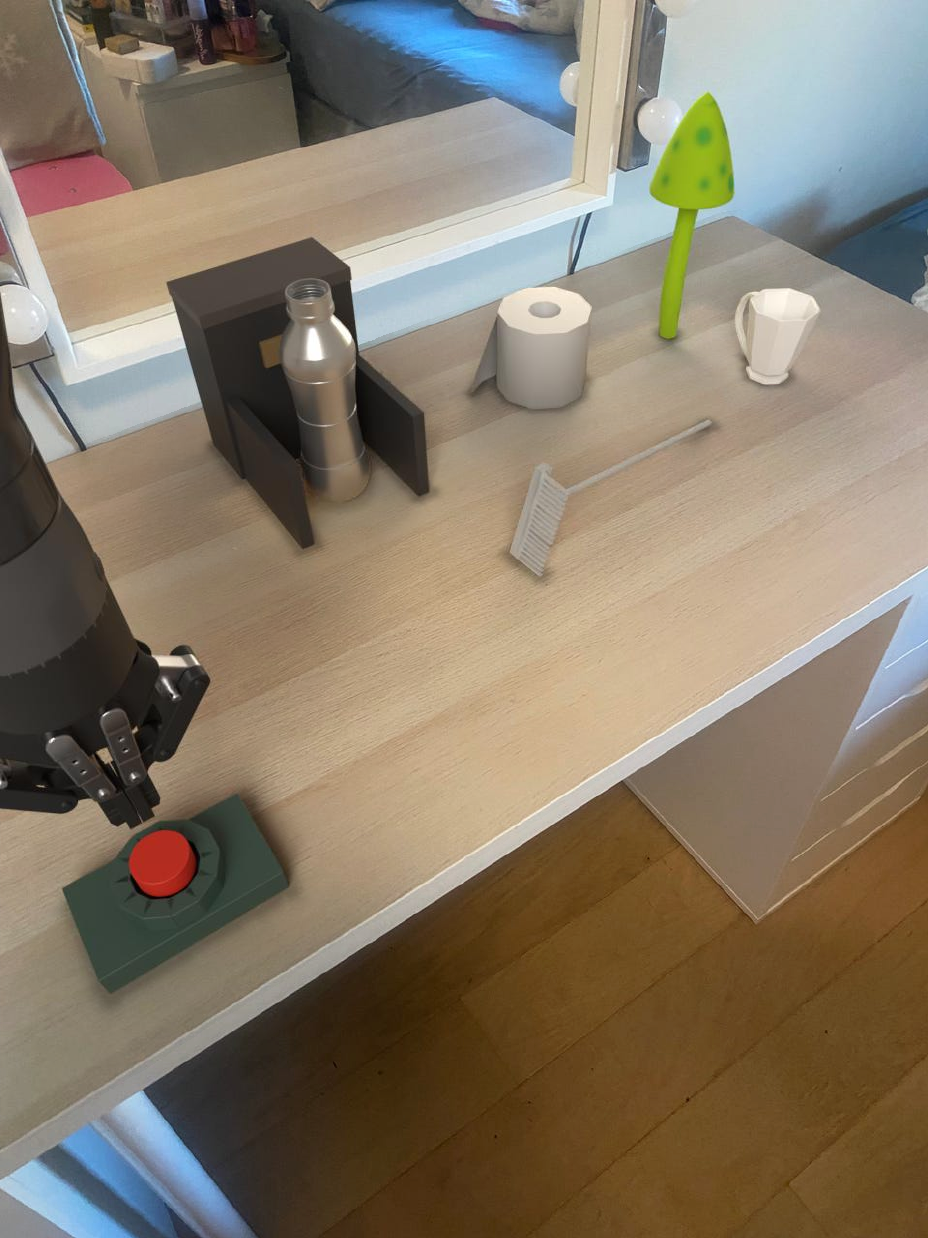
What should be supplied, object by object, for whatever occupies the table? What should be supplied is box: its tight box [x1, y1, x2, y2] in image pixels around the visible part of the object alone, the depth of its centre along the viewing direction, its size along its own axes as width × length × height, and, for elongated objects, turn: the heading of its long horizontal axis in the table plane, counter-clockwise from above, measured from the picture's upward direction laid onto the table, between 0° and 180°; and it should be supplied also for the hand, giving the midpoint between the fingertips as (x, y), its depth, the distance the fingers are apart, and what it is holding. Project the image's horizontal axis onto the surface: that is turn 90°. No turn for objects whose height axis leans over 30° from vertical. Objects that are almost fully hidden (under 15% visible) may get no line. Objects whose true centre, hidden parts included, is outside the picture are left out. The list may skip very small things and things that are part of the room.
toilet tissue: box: [470, 286, 593, 410], centre depth 92 cm, size 9×13×9 cm
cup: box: [734, 287, 822, 386], centre depth 94 cm, size 7×10×8 cm
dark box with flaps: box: [165, 236, 430, 550], centre depth 81 cm, size 19×14×17 cm
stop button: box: [129, 830, 196, 897], centre depth 54 cm, size 4×4×2 cm
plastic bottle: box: [279, 278, 371, 504], centre depth 77 cm, size 6×7×20 cm
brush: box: [509, 419, 712, 578], centre depth 82 cm, size 4×28×9 cm, turn 133°
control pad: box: [61, 792, 290, 995], centre depth 56 cm, size 12×7×4 cm, turn 124°
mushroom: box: [648, 91, 735, 339], centre depth 93 cm, size 8×8×25 cm
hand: (136, 811), depth 50 cm, fingers closed
